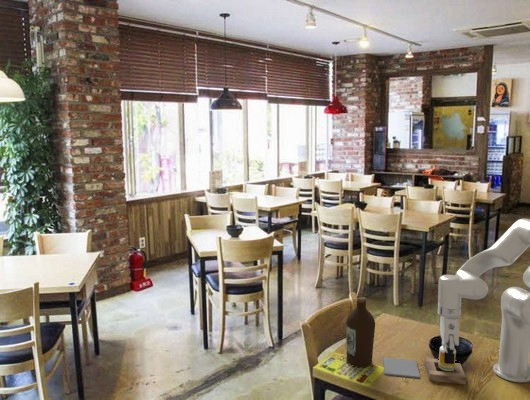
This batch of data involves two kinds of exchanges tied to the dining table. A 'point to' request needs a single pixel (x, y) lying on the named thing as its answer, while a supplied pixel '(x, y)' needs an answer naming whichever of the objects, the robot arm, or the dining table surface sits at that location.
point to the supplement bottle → (441, 359)
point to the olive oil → (360, 335)
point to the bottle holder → (440, 376)
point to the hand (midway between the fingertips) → (447, 358)
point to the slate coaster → (400, 367)
